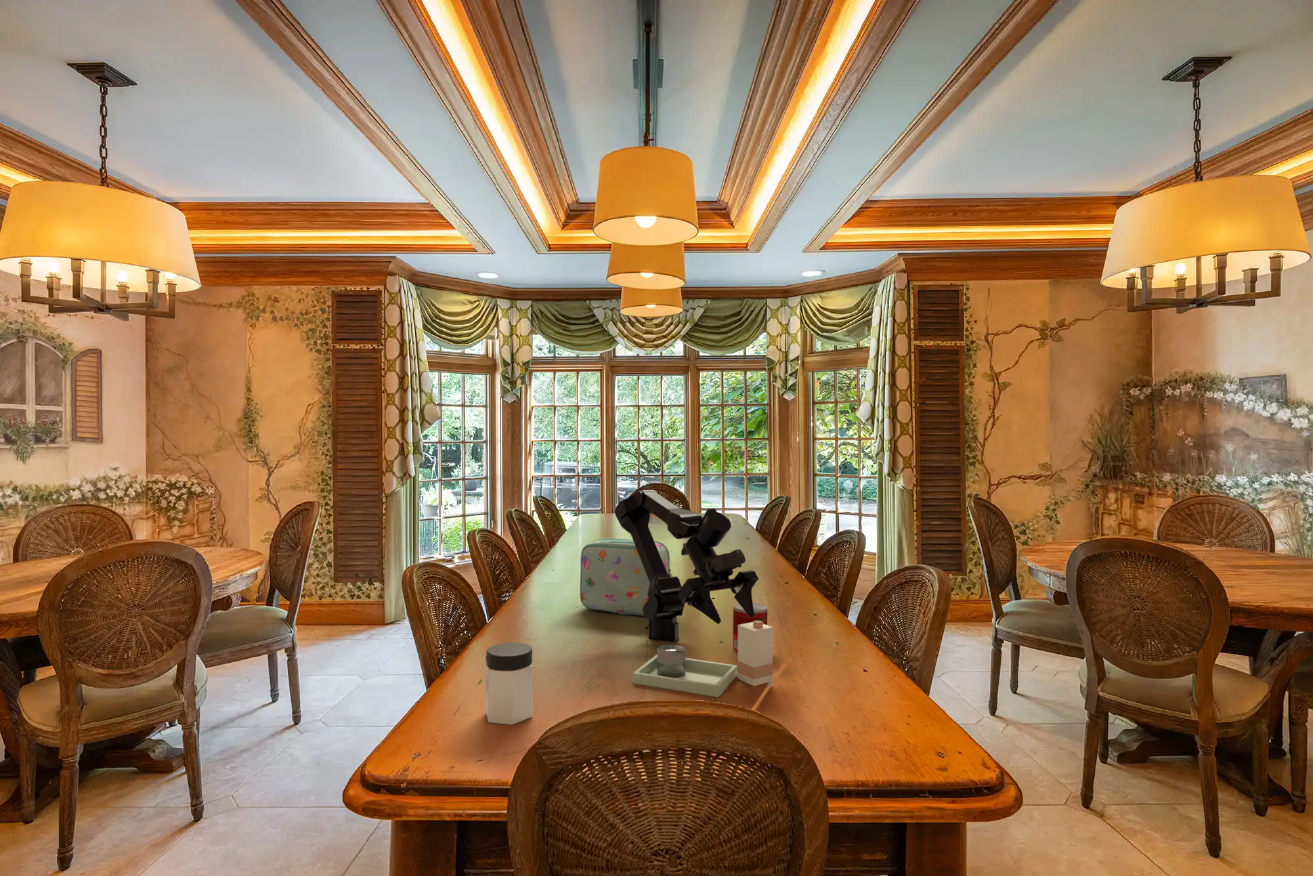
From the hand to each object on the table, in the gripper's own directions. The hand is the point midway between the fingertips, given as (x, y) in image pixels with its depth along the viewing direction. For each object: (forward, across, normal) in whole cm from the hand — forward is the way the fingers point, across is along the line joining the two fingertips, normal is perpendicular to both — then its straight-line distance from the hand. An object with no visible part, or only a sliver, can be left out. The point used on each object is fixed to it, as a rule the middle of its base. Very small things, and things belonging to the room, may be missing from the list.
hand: (736, 619), depth 144 cm
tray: (+7, -12, +10) cm, 17 cm away
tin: (+3, -12, +12) cm, 18 cm away
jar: (+4, -48, +13) cm, 50 cm away
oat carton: (+13, 0, +4) cm, 13 cm away
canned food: (+2, +12, +15) cm, 20 cm away
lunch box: (-32, +7, +48) cm, 58 cm away
